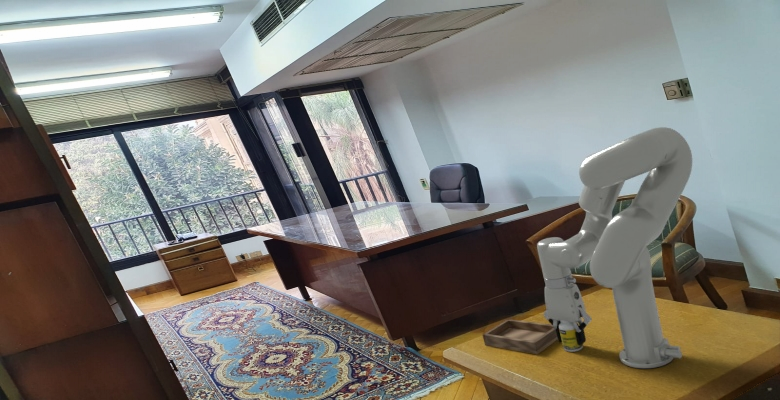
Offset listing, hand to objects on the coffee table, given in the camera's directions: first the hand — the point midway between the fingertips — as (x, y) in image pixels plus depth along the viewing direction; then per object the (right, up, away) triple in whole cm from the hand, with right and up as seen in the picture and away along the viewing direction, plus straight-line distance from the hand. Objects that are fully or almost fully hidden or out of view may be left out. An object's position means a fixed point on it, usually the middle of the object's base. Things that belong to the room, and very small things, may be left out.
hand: (572, 341), depth 151 cm
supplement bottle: (0, -2, 0) cm, 2 cm away
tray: (-11, -3, +14) cm, 18 cm away
